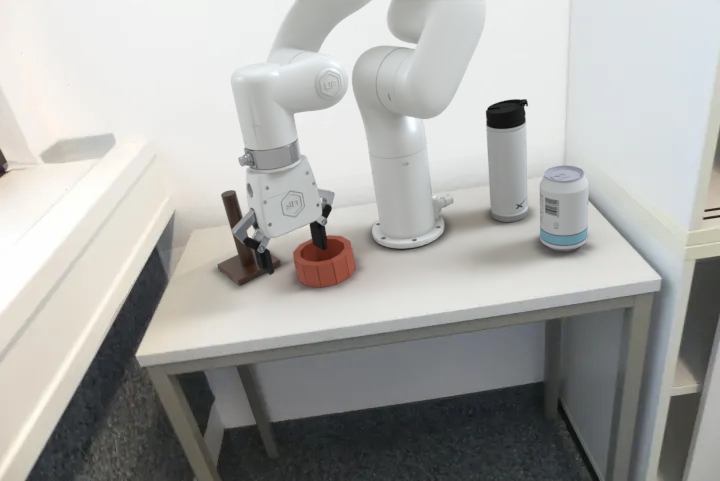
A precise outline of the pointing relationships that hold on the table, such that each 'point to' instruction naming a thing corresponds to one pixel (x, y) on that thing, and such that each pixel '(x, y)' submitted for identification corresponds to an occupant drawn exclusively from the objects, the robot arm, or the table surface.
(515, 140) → the travel mug
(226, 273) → the stand
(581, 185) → the beverage can
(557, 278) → the table surface
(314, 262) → the hoop
